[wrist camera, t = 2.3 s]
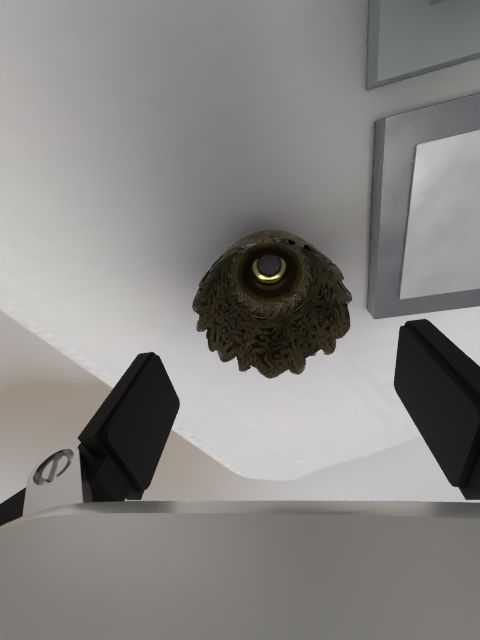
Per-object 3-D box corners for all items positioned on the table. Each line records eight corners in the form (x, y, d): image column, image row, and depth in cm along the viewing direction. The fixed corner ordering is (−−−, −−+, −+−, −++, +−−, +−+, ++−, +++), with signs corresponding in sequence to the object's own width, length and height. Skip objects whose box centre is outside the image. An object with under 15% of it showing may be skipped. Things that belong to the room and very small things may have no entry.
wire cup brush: (276, 184, 16) (283, 198, 9) (341, 267, 18) (384, 327, 12) (199, 261, 19) (162, 314, 12) (263, 324, 21) (262, 397, 15)
